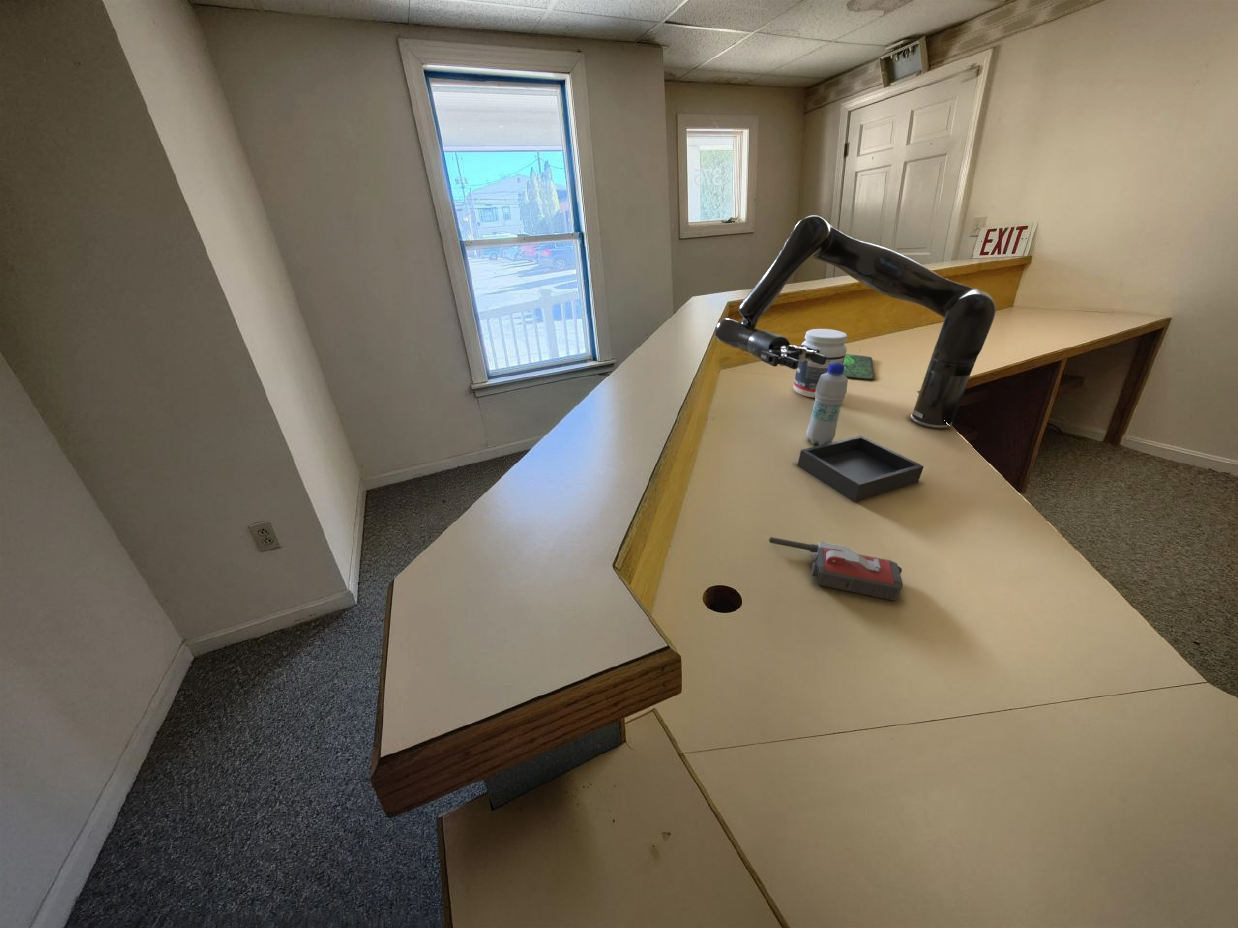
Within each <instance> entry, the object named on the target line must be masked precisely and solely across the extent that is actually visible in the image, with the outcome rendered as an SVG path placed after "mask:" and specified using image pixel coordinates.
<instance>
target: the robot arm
mask: <svg viewBox="0 0 1238 928" xmlns="http://www.w3.org/2000/svg"><path fill="white" fill-rule="evenodd" d="M783 245H784V246H783V247H782V249H781V250H780V252H779V253H778V255H777V256H776V258H775V260H774V261H773V262H772V264H771V266H770V267H769V268H768V269H767V270H766V272H765V273H764V275H763V276H762V277H761V278H760V279H759V280H758V282H757V283H756V284H755V285H754V286H753V288H752V289H751V290H750V291H749V293H748V294H747V295H746V297H744V299H743V300H742V302H741V303H740V305H739V306H738V313H739V314H740V315H741V316H742V320H741V322H739V321H737V320H735V319H732V318H723V319H721V320H720V321H719V322H718V323H717V324H716V325H715V328H714V336H715V338H716V339H717V341H718V342H720V343H722V344H724V345H726V346H728V347H730V348H732V349H735V350H740V351H741V352H743V353H745V354H747V355H751V356H752V357H753V358H754V359H755V358H756V359H758V360H760V361H761V362H762V363H766V364H768V365H769V366H772V367H778V366H780V367H787V368H789V369H791V370H796V369H797V368H798V364H799V362H804V361H805V360H806V361H812V362H815V363H817V364H820V365H824V364H825V362H826V356H824V355H822V354H819V353H820V350H819V349H816V348H813V347H809V346H806V345H802V344H801V345H800V346H797V345H795V344H791V343H790V341H789V339H788V338H787V337H786V336H783V335H781V334H778V333H774V332H771V331H768V330H761V329H758V328H757V325H758V323H759V321H760V319H761V318H762V317H763V316H764V314H765V313H766V312H767V311H768V310H769V309H770V308H771V306H772V305H773V304H774V302H775V301H776V300H777V298H778V297H779V295H780V294H781V292H782V290H783V289H784V287H785V286H786V285H787V283H788V282H789V280H790V279H791V277H792V276H794V274H795V273H796V272H797V270H798V269H799V268H800V267H801V266H802V265H803V264H804V263H805V262H806V261H807V260H809V259H810V258H812V259H815V260H818V261H821V262H823V263H826V264H829V265H832V266H833V267H836V268H837V269H840V270H842V271H843V272H844V273H845V274H847V275H848V276H850V277H851V278H852V279H854V280H856V281H857V282H859V283H861V284H862V285H864V286H866V287H868V288H869V289H872V290H874V291H876V292H878V293H880V294H882V295H885V296H887V297H890V298H894V299H897V300H900V301H904V302H907V303H912V304H916V305H918V306H922V307H924V308H926V309H928V310H929V311H931V312H933V313H934V314H936V315H939V316H940V317H941V318H943V319H944V320H943V323H942V325H941V329H940V331H939V335H938V337H937V340H936V343H935V345H934V348H933V351H932V353H931V357H930V359H929V363H928V365H927V369H926V372H925V374H924V377H923V380H922V384H921V386H920V389H919V393H918V395H917V399H916V401H915V404H914V407H913V410H912V413H911V415H910V420H911V421H912V422H913V423H915V424H917V425H919V426H923V427H925V428H930V429H943V430H944V429H948V428H950V426H951V427H952V425H953V423H954V421H955V419H956V416H957V413H958V411H959V408H960V405H961V403H962V400H963V397H964V395H965V392H966V387H967V384H968V382H969V380H970V377H971V374H972V371H973V369H974V367H975V364H976V362H977V359H978V356H979V355H980V353H981V352H982V349H983V347H984V345H985V342H986V340H987V338H988V334H989V332H990V331H991V328H992V325H993V323H994V321H995V316H996V312H997V307H996V304H995V301H994V299H993V297H992V296H991V295H990V294H989V293H987V292H986V291H984V290H980V289H978V288H974V287H970V286H968V285H964V284H962V283H959V282H955V281H953V280H949V279H948V278H945V277H943V276H941V275H939V274H937V273H936V272H934V271H932V270H931V269H929V268H928V267H925V266H924V265H922V264H921V263H919V262H917V261H915V260H913V259H911V258H910V257H908V256H905V255H903V254H901V253H898V252H896V251H894V250H892V249H890V248H886V247H884V246H880V245H877V244H874V243H871V242H866V241H861V240H859V239H855V238H853V237H851V236H849V235H847V234H845V233H843V232H842V231H840V230H838V229H837V228H835V227H833V226H832V225H831V224H829V223H828V222H827V220H826V219H825V218H823V217H821V216H819V215H808V216H806V217H803V218H802V219H801V220H799V221H798V222H797V224H796V225H795V226H794V228H793V230H792V232H791V233H790V235H789V237H788V238H787V240H786V242H785V243H784V244H783ZM799 355H801V356H802V358H799ZM807 357H808V358H807ZM944 420H945V421H944ZM946 422H947V423H948V424H949V425H950V426H949V425H947V424H946Z"/></svg>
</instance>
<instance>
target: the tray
mask: <svg viewBox="0 0 1238 928" xmlns="http://www.w3.org/2000/svg"><path fill="white" fill-rule="evenodd" d="M797 466H798V467H799V468H800V469H803V471H805V472H807V473H809V474H810V475H812V476H813V477H815V478H817V479H818V480H820V481H821V482H822V483H824V484H826V485H828V487H830V488H832V489H833V490H835V491H836V492H838V493H840V494H841V495H842V496H844V497H846V498H847V499H849V500H850V501H852V502H854V503H856V502H858V501H862V500H865V499H868V498H872V497H875V496H878V495H882V494H884V493H885V494H886V493H888V492H891V491H894V490H898V489H901V488H904V487H905V488H906V487H908V486H910V485H915V484H918V483H919V481H920V477H921V475H922V472H923V470H924V467H925V466H924V465H923V464H920V463H918V462H916V461H914V460H913V459H910V458H908V457H906V456H904V455H902V454H900V453H897V452H896V451H894V450H892V449H889V448H888V447H885V446H884V445H881V444H880V443H877V442H875V441H873V440H872V439H869V438H867V437H865V436H863V435H857V436H856V435H855V436H852V437H849V438H844V439H840V440H836V441H832V442H831V443H827V444H825V443H824V444H823V445H819V444H818V445H815V446H811V447H806V448H802V449H800V452H799V457H798V462H797Z"/></svg>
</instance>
